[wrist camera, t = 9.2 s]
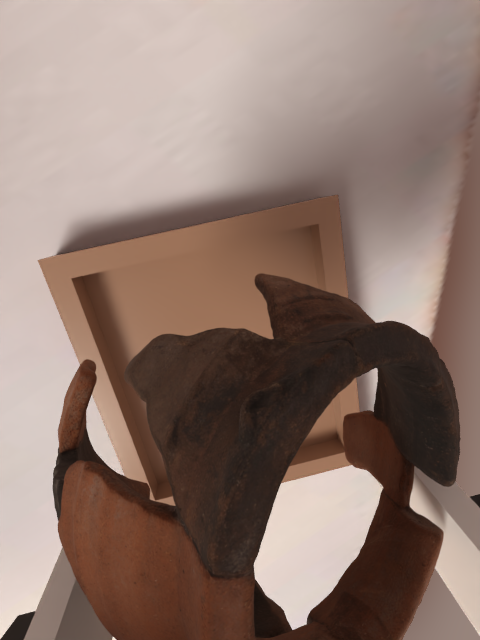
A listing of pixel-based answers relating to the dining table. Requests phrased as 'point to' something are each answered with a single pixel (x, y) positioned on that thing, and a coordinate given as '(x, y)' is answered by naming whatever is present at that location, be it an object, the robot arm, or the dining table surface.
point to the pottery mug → (257, 473)
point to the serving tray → (195, 313)
